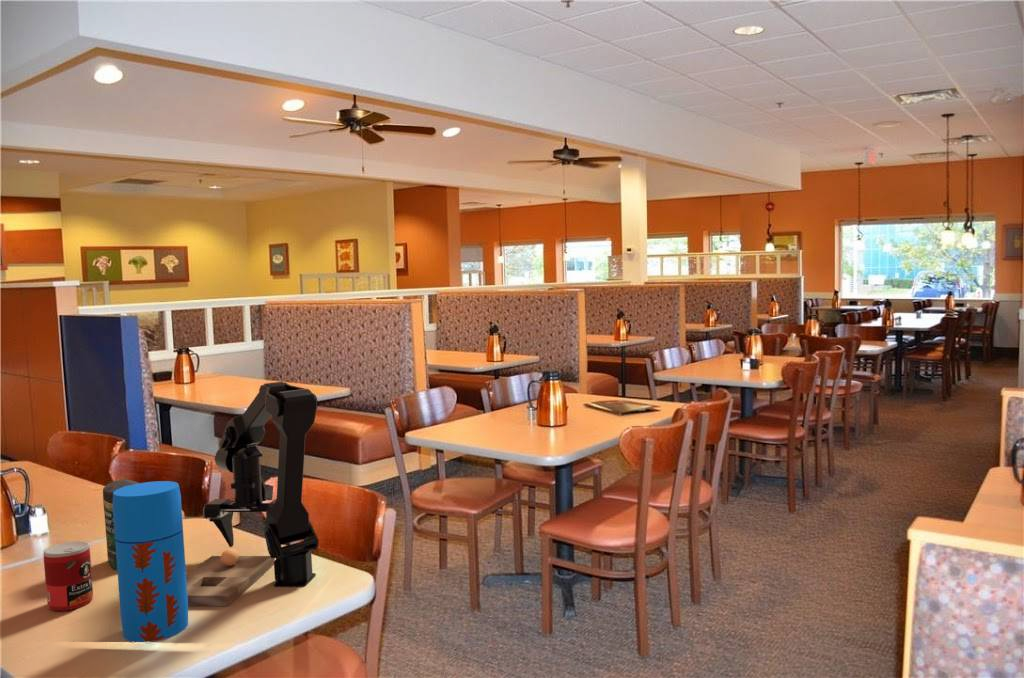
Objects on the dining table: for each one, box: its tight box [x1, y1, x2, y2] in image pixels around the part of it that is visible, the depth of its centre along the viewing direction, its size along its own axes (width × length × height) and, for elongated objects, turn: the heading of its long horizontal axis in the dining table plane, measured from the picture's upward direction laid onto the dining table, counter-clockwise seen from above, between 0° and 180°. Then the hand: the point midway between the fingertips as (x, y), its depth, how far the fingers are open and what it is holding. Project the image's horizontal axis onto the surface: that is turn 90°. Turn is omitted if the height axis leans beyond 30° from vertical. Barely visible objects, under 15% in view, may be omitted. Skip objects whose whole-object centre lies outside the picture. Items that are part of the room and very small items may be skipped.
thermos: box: [113, 480, 189, 643], centre depth 140 cm, size 11×11×25 cm
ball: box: [220, 548, 240, 566], centre depth 167 cm, size 4×4×4 cm
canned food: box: [42, 540, 94, 612], centre depth 154 cm, size 8×8×11 cm
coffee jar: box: [102, 478, 140, 571], centre depth 175 cm, size 10×8×19 cm
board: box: [186, 555, 276, 607], centre depth 162 cm, size 14×22×2 cm, turn 174°
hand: (251, 546), depth 177 cm, fingers open, 9 cm apart
